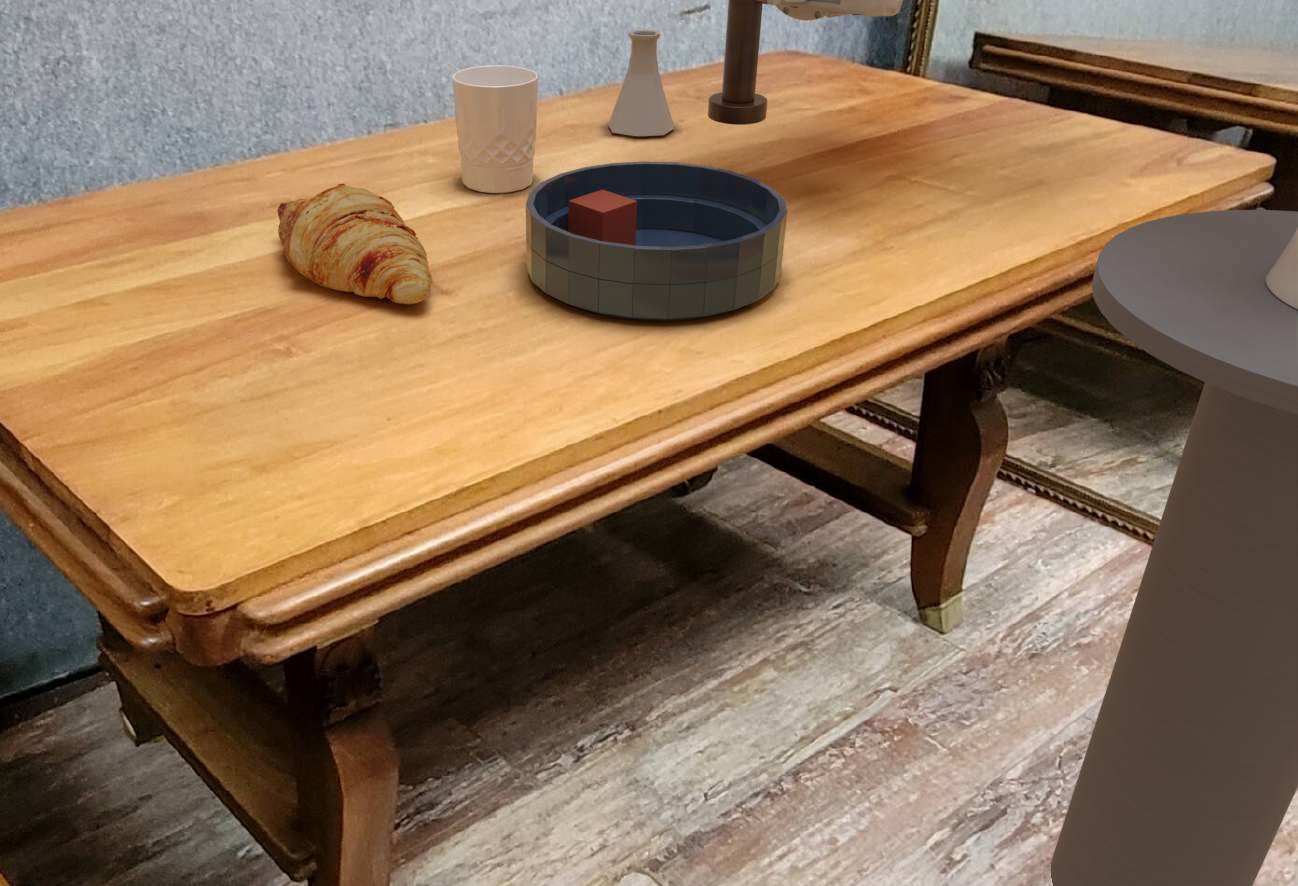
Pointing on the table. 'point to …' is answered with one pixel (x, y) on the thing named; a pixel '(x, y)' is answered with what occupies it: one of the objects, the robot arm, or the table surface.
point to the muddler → (740, 68)
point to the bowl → (660, 241)
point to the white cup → (496, 126)
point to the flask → (642, 91)
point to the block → (604, 217)
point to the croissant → (355, 245)
